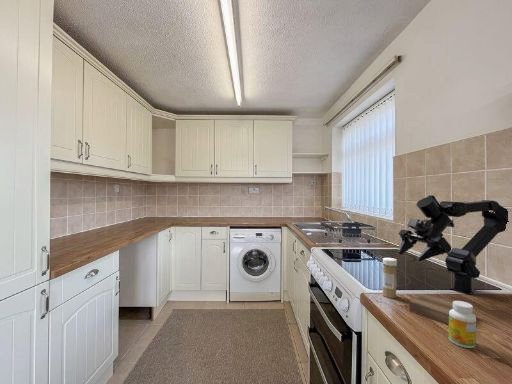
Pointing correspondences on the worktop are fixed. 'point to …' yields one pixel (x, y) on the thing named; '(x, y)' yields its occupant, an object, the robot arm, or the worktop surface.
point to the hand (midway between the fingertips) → (408, 256)
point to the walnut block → (432, 307)
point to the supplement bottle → (462, 325)
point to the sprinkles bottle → (389, 277)
